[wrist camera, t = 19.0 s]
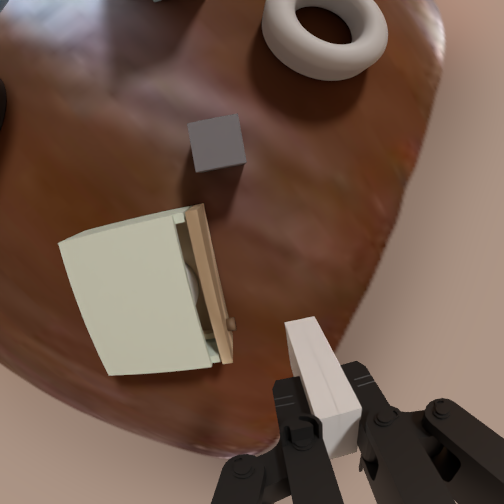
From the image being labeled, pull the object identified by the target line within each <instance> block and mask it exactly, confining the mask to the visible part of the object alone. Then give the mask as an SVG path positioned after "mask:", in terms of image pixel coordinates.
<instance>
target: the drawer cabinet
mask: <svg viewBox="0 0 504 504" xmlns="http://www.w3.org/2000/svg"><path fill="white" fill-rule="evenodd" d="M191 207H192V205H191V206H187V207H182V208H177V209H173V210H168V211H163V212H159V213H155V214H150V215H146V216H142V217H137V218H133V219H129V220H125V221H121V222H117V223H113V224H109V225H105V226H101V227H97V228H93V229H89V230H86V231H83V232H81V233H79V234H77V235H75V236H72V237H70V238H68V239H66V240H64V241H62V242H60V243H58V244H59V248H60V251H61V255H62V258H63V262H64V265H65V268H66V271H67V275H68V278H69V281H70V284H71V287H72V290H73V293H74V295H75V298H76V301H77V304H78V306H79V309H80V312H81V314H82V317H83V319H84V322H85V324H86V327H87V329H88V331H89V334H90V336H91V338H92V341H93V343H94V345H95V348H96V350H97V352H98V354H99V356H100V358H101V361H102V363H103V365H104V367H105V369H106V371H107V373H108V375H131V374H148V373H161V372H172V371H182V370H192V369H200V368H208V367H212V363H216V362H220V361H221V357H220V353H219V350H218V346H217V342H216V339H215V338H213V339H206V340H205V337H204V334H203V331H202V327H201V324H200V320H199V317H198V313H197V309H196V306H195V302H194V298H193V294H192V291H191V287H190V283H189V279H188V275H187V271H186V267H185V263H184V259H183V255H182V251H181V246H180V242H179V238H178V233H177V229H176V225H175V224H178V223H183V222H185V221H186V216H185V212H186V211H187V210H188V209H190V208H191Z"/></svg>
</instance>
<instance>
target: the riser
mask: <svg viewBox="0 0 504 504" xmlns="http://www.w3.org/2000/svg"><path fill="white" fill-rule="evenodd" d="M187 125H188V131H189V137H190V143H191V148H192V154H193V160H194V165H195V170H196V172H207V171H212V170H217V169H222V168H227V167H233V166H238V165H244V164H245V163H246V156H245V151H244V145H243V140H242V134H241V129H240V123H239V118H238V114H233V115H227V116H222V117H216V118H211V119H206V120H201V121H197V122H192V123H188V124H187Z"/></svg>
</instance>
